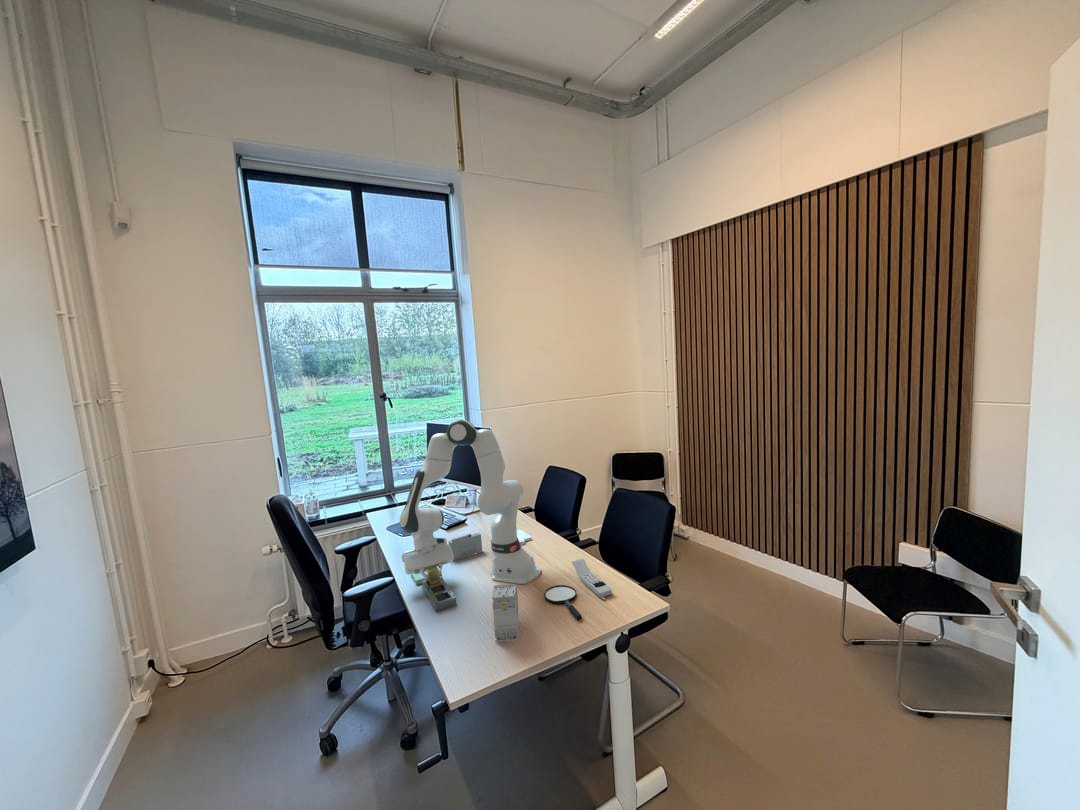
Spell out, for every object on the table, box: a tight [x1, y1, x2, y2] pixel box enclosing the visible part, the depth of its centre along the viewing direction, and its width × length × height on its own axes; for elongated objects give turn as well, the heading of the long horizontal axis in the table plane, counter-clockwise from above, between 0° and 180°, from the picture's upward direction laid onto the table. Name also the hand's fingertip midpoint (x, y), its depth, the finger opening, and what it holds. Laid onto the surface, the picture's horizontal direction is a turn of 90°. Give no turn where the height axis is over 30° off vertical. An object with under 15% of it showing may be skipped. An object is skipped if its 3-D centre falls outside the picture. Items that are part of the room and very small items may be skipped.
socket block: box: [421, 576, 458, 613], centre depth 172 cm, size 22×8×3 cm, turn 29°
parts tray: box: [410, 566, 443, 586], centre depth 189 cm, size 11×11×2 cm
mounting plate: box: [517, 529, 533, 546], centre depth 224 cm, size 18×13×2 cm
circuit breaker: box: [491, 583, 520, 643], centre depth 147 cm, size 8×14×15 cm, turn 2°
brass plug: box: [427, 566, 440, 586], centre depth 178 cm, size 4×4×8 cm
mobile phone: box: [571, 558, 612, 601], centre depth 172 cm, size 6×6×25 cm
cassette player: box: [447, 532, 483, 561], centre depth 208 cm, size 16×3×10 cm, turn 122°
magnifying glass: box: [543, 584, 583, 622], centre depth 161 cm, size 12×24×2 cm, turn 20°
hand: (433, 577), depth 177 cm, fingers closed on brass plug, 4 cm apart
